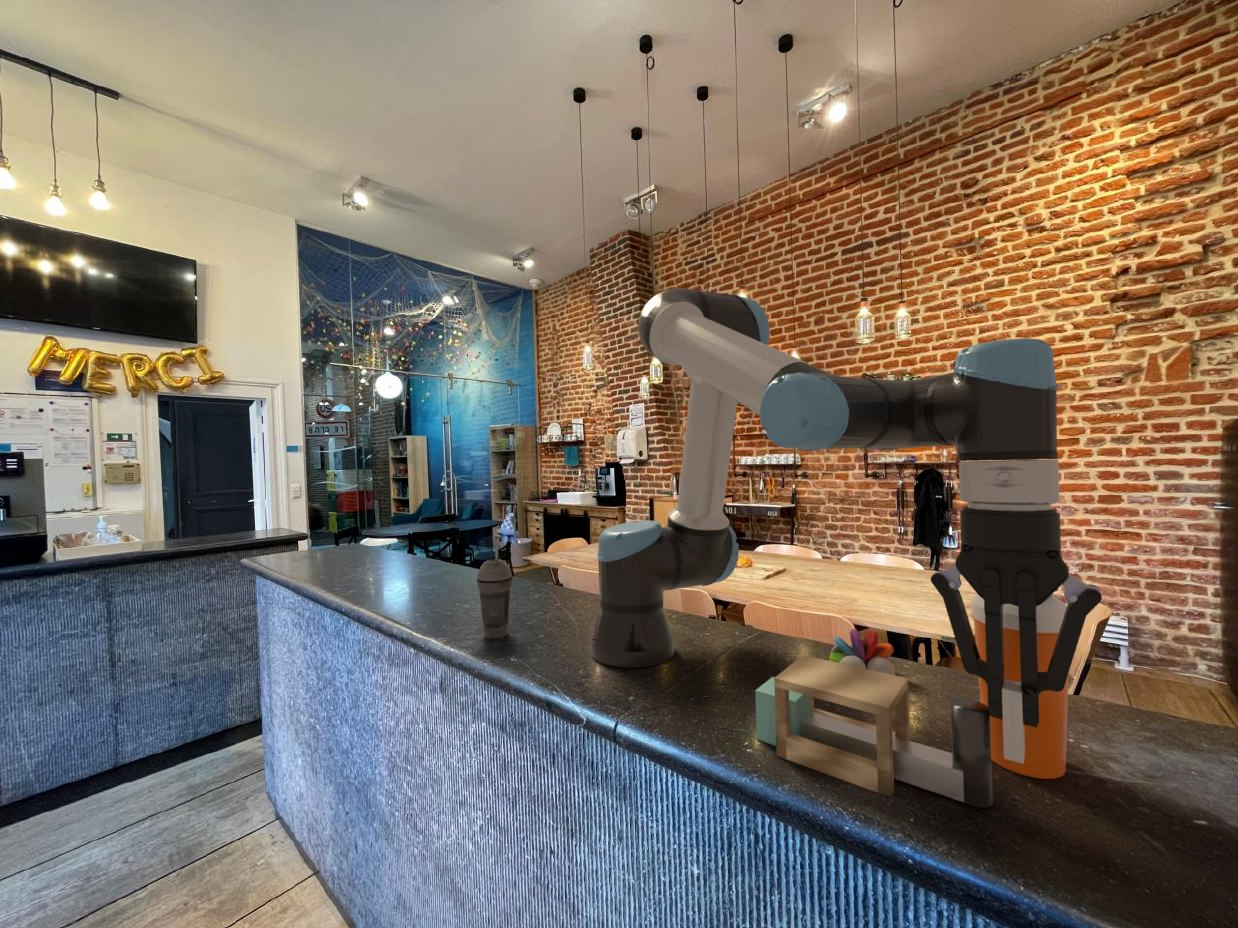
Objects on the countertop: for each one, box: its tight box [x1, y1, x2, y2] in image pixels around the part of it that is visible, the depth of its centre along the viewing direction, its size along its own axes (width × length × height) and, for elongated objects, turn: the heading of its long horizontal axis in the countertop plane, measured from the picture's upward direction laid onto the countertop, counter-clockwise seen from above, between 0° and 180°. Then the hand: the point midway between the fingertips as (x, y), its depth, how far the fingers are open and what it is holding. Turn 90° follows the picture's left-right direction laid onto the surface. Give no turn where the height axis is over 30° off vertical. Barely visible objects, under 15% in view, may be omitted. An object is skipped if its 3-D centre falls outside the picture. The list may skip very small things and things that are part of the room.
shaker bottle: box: [970, 588, 1070, 780], centre depth 57 cm, size 9×9×20 cm
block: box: [754, 676, 812, 747], centre depth 63 cm, size 5×5×6 cm
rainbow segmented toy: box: [828, 628, 897, 676], centre depth 80 cm, size 8×10×7 cm
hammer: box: [799, 697, 994, 809], centre depth 55 cm, size 18×3×9 cm, turn 49°
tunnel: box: [774, 654, 911, 798], centre depth 58 cm, size 12×9×9 cm
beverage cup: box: [476, 537, 514, 639], centre depth 105 cm, size 7×7×20 cm
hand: (1014, 754), depth 48 cm, fingers closed
